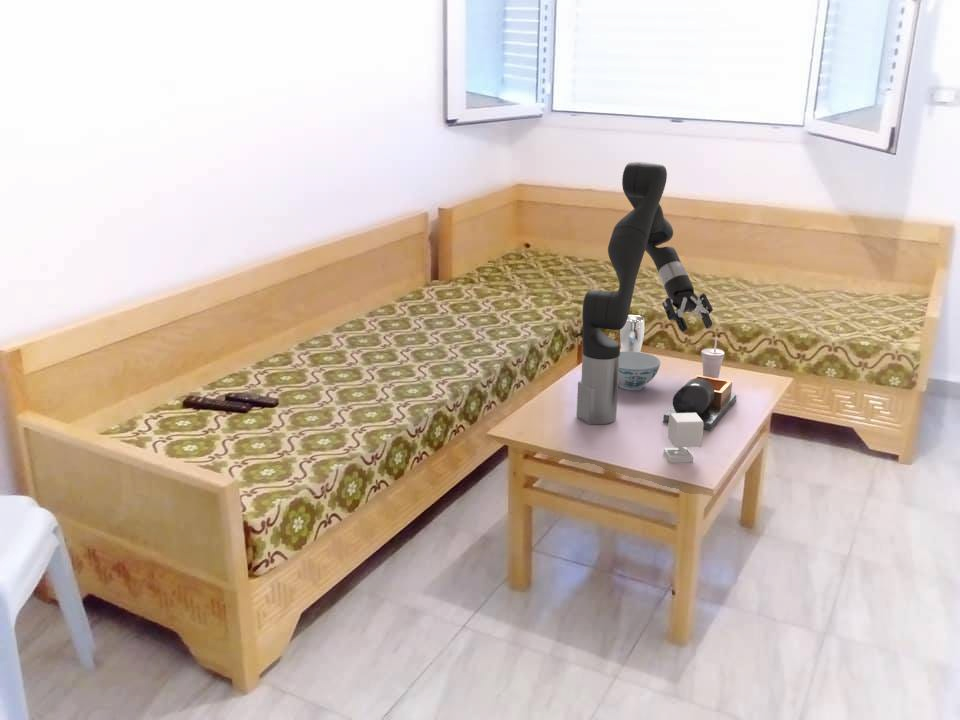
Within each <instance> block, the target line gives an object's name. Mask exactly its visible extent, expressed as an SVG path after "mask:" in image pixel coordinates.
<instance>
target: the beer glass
mask: <svg viewBox="0 0 960 720" xmlns="http://www.w3.org/2000/svg"><path fill="white" fill-rule="evenodd" d="M644 336H645V318H644V317H643V316H642V315H635V314H629V315H628V318H627V321H626V324H625V326H624V327H623V328H622V329H620V330H619V338H620V351H621V352H641V350H642V346H643V342H644V338H645V337H644Z"/></svg>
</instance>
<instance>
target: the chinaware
mask: <svg viewBox="0 0 960 720" xmlns="http://www.w3.org/2000/svg"><path fill="white" fill-rule="evenodd" d="M660 366H661V360H660V358H659V357H657V356H655V355H653V354H649V353H645V352H641V351H640V352H622V351H620V361H619V377H618V387H619V388H621V389H623V390H627V391H639V390H642V389H643V388H644V386H645V385H647V384H648V383H649V382H651V381H652V380H653V379H654V378H655V377H656V375H657V374H658V372H659V369H660Z"/></svg>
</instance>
